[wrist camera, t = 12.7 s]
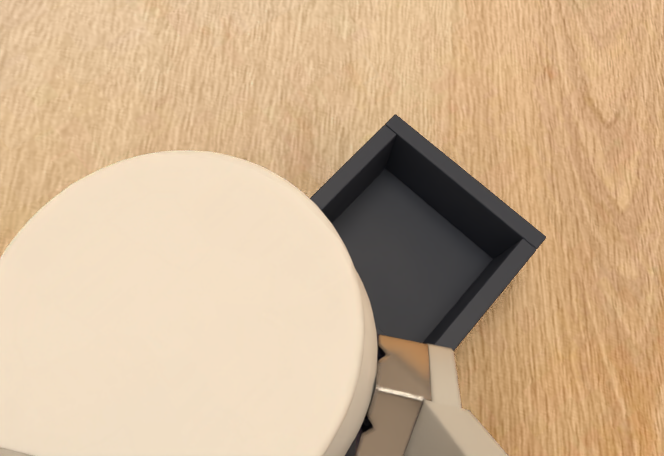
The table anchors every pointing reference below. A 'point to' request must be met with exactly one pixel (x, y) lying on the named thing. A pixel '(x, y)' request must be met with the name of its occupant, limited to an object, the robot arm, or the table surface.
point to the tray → (423, 237)
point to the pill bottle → (182, 317)
